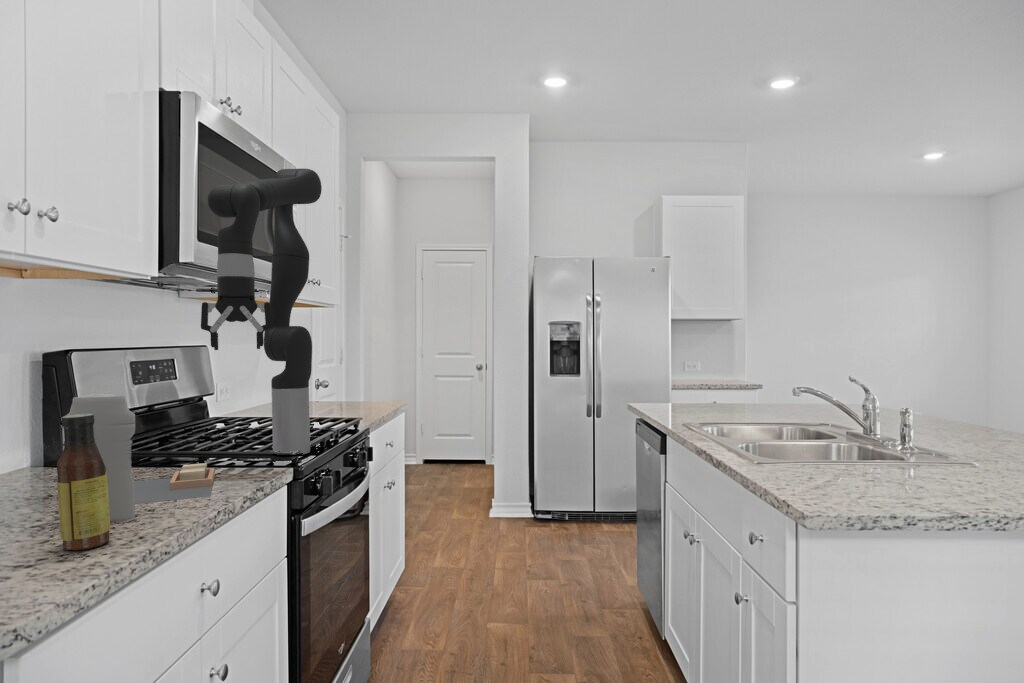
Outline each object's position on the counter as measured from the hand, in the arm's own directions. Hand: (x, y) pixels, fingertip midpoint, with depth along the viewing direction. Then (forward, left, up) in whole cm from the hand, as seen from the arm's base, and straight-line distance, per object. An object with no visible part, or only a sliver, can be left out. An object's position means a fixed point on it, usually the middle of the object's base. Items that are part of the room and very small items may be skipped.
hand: (237, 349), depth 139 cm
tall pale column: (+27, -21, -28) cm, 44 cm away
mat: (+8, -13, -28) cm, 32 cm away
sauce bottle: (+39, -21, -28) cm, 53 cm away
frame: (+4, -9, -28) cm, 30 cm away
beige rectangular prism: (+4, -9, -28) cm, 29 cm away
